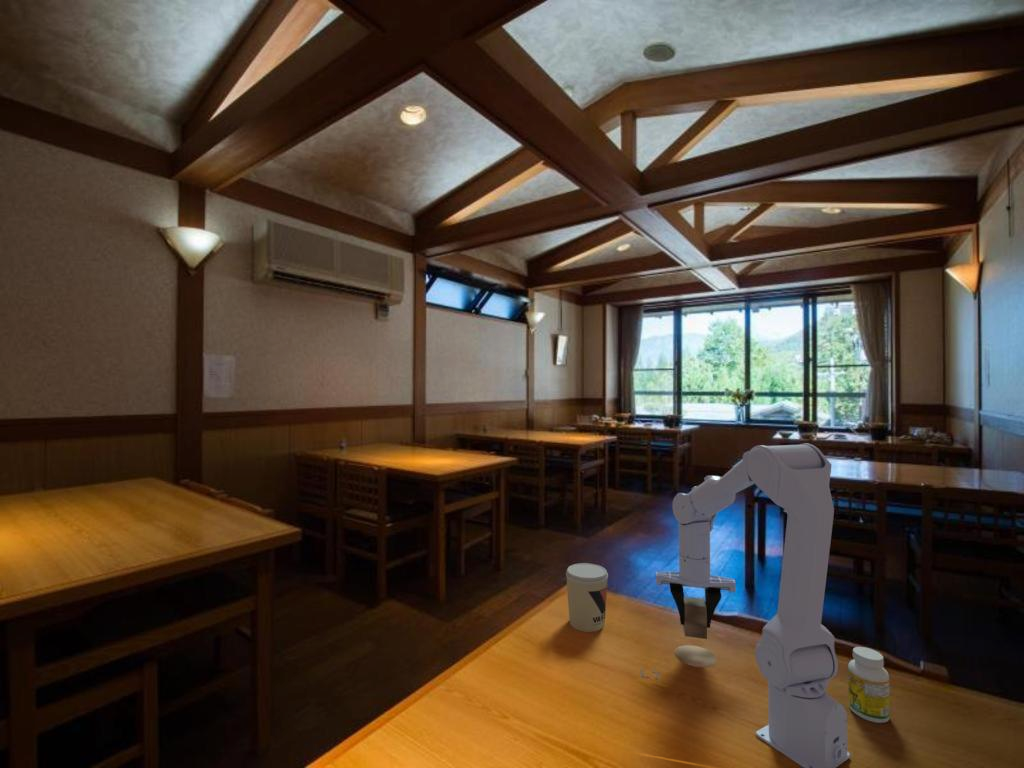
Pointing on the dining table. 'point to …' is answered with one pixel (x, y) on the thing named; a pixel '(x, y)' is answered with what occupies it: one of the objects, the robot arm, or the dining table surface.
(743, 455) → the robot arm
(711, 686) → the dining table surface
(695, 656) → the cork coaster
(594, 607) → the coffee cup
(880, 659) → the supplement bottle
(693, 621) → the walnut block
